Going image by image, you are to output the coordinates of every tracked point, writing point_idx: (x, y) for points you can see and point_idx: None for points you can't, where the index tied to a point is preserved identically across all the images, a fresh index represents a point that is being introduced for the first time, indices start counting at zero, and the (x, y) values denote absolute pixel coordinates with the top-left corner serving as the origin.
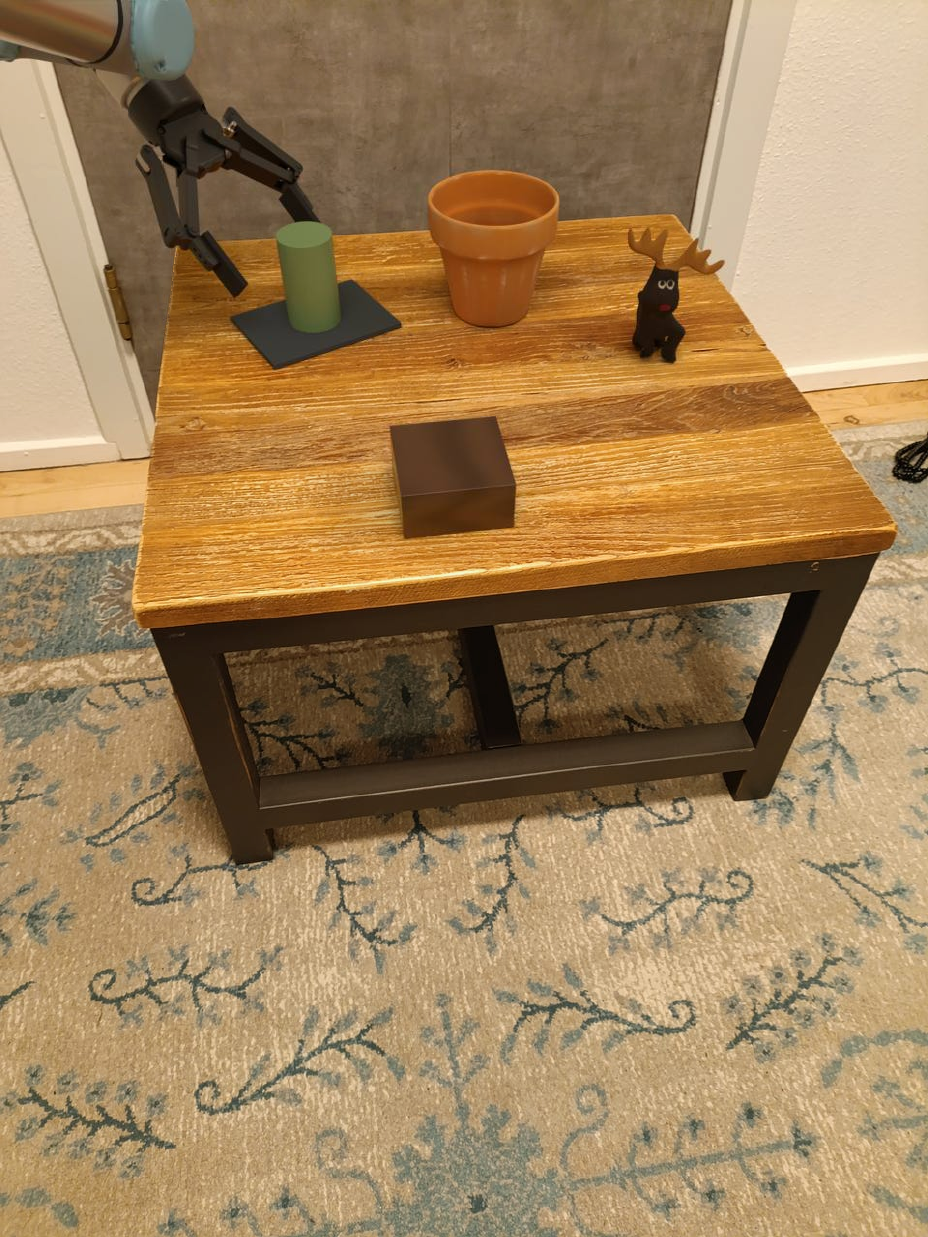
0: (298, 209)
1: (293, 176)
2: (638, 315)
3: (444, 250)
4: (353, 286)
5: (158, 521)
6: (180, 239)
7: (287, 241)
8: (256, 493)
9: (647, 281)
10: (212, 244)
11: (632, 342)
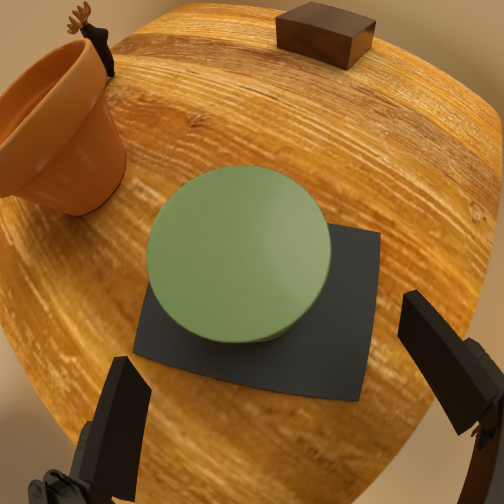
0: (118, 441)
1: (62, 483)
2: None
3: (88, 120)
4: (145, 332)
5: (499, 146)
6: None
7: (308, 236)
8: (445, 115)
9: (92, 33)
10: (479, 365)
11: None
